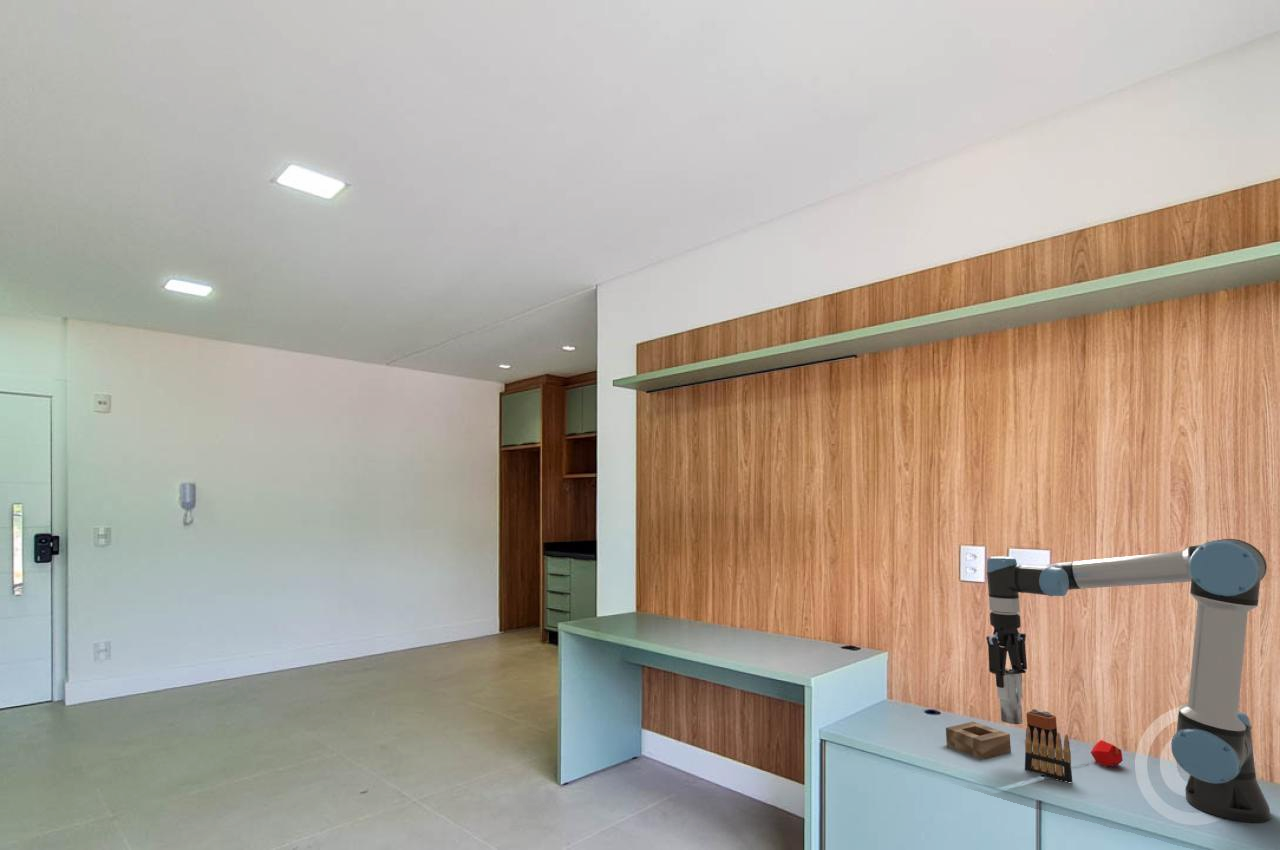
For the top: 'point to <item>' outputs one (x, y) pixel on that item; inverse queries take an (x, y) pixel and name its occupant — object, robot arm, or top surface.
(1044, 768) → the ammunition clip
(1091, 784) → the top surface
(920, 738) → the top surface
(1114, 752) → the apple
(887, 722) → the top surface
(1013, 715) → the silver metal cylinder
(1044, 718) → the battery
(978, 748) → the box
